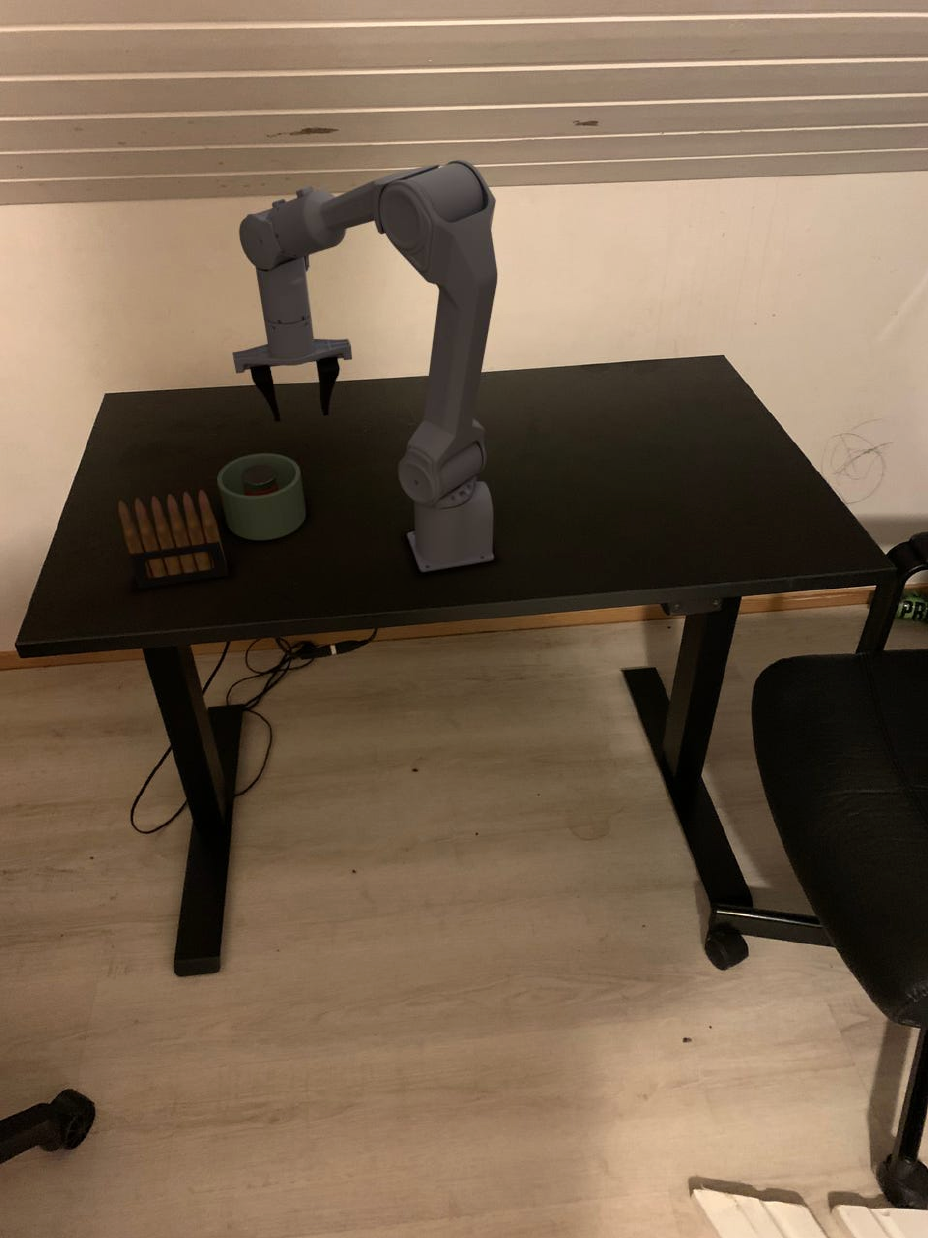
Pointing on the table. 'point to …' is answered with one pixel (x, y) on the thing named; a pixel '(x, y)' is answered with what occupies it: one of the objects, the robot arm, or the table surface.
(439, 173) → the robot arm
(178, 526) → the ammunition clip
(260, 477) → the tin can
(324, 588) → the table surface
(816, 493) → the table surface
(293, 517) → the cup
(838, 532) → the table surface
